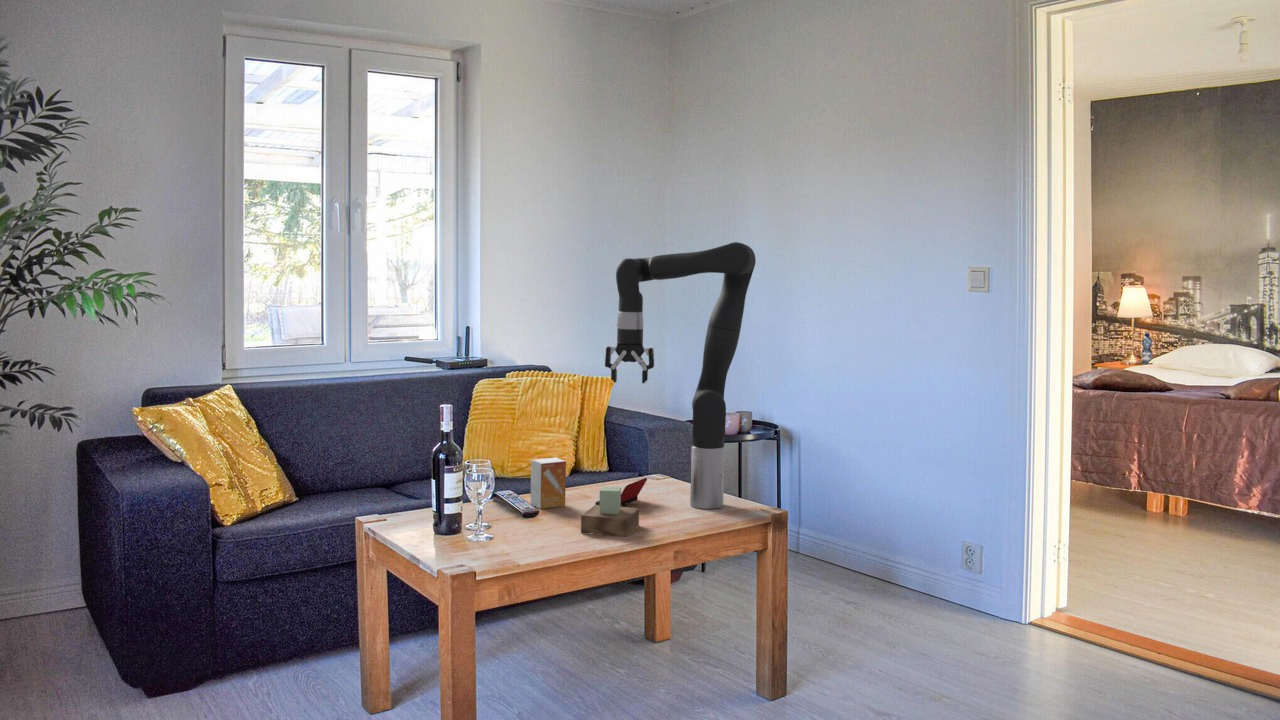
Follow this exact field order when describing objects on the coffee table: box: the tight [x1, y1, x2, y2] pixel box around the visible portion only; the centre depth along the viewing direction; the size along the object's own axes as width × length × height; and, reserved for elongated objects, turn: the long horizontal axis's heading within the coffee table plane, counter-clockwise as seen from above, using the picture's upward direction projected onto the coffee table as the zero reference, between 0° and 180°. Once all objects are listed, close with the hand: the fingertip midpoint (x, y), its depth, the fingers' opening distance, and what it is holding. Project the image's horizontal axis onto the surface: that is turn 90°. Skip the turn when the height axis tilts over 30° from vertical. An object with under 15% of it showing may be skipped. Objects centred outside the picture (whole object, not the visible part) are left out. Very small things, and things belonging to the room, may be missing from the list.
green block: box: [599, 485, 622, 514], centre depth 257 cm, size 5×5×6 cm
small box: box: [530, 456, 567, 510], centre depth 281 cm, size 8×6×13 cm
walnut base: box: [580, 505, 640, 538], centre depth 258 cm, size 12×12×5 cm
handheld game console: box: [595, 477, 648, 507], centre depth 286 cm, size 12×11×7 cm
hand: (629, 382), depth 292 cm, fingers open, 8 cm apart
